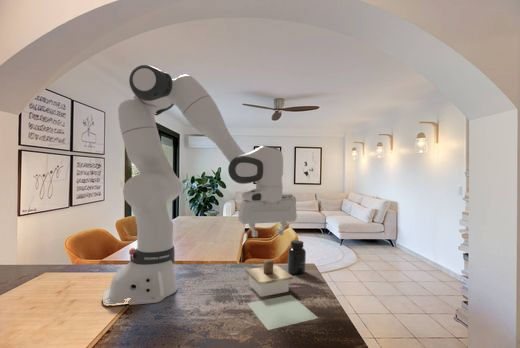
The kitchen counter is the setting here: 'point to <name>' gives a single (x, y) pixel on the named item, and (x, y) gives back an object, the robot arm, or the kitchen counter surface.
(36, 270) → the kitchen counter surface
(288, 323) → the sage mat
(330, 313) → the kitchen counter surface
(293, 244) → the supplement bottle
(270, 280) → the oak lid
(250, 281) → the white open box
